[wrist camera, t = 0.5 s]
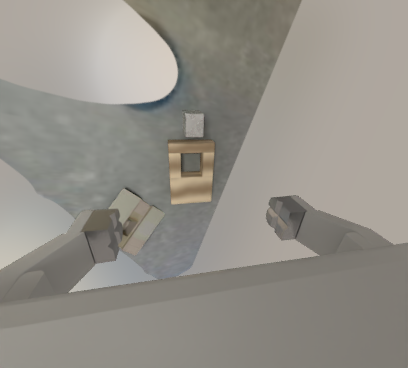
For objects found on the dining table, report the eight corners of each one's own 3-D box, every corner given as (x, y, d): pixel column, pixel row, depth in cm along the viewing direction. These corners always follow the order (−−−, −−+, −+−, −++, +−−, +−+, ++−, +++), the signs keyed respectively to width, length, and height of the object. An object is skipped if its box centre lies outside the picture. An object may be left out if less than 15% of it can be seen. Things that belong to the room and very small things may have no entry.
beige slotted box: (111, 186, 55) (79, 232, 49) (123, 186, 49) (88, 238, 43) (152, 211, 65) (129, 251, 59) (165, 213, 59) (142, 259, 53)
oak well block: (167, 139, 48) (168, 143, 45) (211, 139, 50) (214, 143, 47) (170, 197, 56) (171, 204, 53) (208, 194, 58) (211, 201, 55)
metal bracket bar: (182, 110, 45) (185, 113, 38) (198, 110, 46) (204, 114, 39) (182, 130, 48) (185, 137, 41) (197, 130, 48) (203, 137, 42)
